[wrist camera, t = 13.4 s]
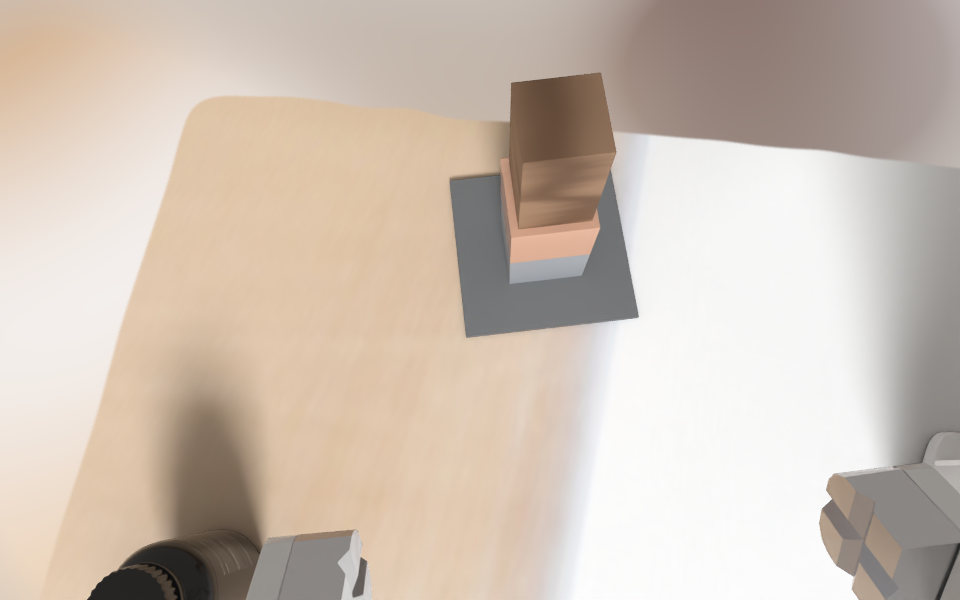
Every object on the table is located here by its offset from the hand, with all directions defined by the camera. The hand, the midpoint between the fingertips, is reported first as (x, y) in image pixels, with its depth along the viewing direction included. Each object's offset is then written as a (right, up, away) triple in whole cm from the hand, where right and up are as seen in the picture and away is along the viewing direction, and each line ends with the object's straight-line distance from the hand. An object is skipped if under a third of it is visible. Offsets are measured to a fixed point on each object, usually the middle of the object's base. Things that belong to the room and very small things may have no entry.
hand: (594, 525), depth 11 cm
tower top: (+3, +10, +36) cm, 38 cm away
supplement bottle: (-21, -17, +35) cm, 44 cm away
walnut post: (+3, +11, +31) cm, 33 cm away
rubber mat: (+3, +8, +41) cm, 42 cm away
